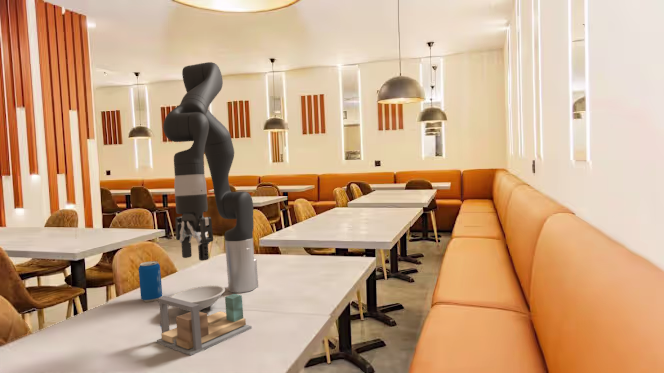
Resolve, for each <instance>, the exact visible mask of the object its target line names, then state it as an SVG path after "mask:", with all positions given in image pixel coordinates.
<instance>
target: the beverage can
mask: <svg viewBox="0 0 664 373" xmlns="http://www.w3.org/2000/svg"><path fill="white" fill-rule="evenodd" d="M161 272H162V271H161V265H160V264H159V261H157V260H152V261H151V260H149V261H145V262H141V263H139V267H138V278H139V279H138V280H139V289H140V290H139V291H140V292H139V293H140V300H142V301H143V302H144V303H145V302H146V303H148V302H150V303H151V302H155V301H158V298H161V297H163V287H162V274H161Z"/></svg>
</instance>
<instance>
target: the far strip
mask: <svg viewBox="0 0 664 373" xmlns="http://www.w3.org/2000/svg"><path fill="white" fill-rule="evenodd" d="M160 335H161V338H162V340H164V341H167V342H170V343H174V342H173V340H175V339H177V338H178V336H177V327H174V328H172V329H169V331H167V332H164V333H162V332H161V334H160Z"/></svg>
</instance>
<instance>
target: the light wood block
mask: <svg viewBox="0 0 664 373" xmlns="http://www.w3.org/2000/svg"><path fill="white" fill-rule="evenodd" d="M207 318H208V326H209V325H212V324H214V323H217V322H219V321H222V320H224V319H227V318H226V311H225V312H224V311H221V310H220V311H218V312H214V313H213V314H209V315H207Z"/></svg>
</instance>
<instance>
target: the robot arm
mask: <svg viewBox="0 0 664 373" xmlns="http://www.w3.org/2000/svg"><path fill="white" fill-rule="evenodd" d="M182 68H183V69H182V73H181V74H182V76H181V77H182V81H183V85H184V88H185V91H186V93H185V94H184V95H183V97H182V99H181V101H180V103H179V105H177V106H176V107H175V108H173V109H172V110H171V111H169V113H168V114H167V115H166V117H165V118H164V121H163V127H162V128H163V133H164V135H165V137H166V138H167V139H168V140H169V141H171V142H175V143H178V142H179V143H185V142H192V145H191V147H189V148H188V149H185V150H181V151H178V152H176V153H175V154H174V156H173V168H174V188H173V189H174V200H175V201H174V202H175V212H176V214H177V215H178V214H179V215H181V216H177V217H175V219H174V220H175V239H176V241H179V244H181V256H182V258H183V259H188V258H191V257H192V254H193V253H192V243H191V240H192V237H193V239H195V240H196V242H197V244H198V245H197V249H198V260H199V261H202V262H203V261H207V260H209V259H210V258H209V244H210V243H212V242H213V241H214V234H213V223H212V217H211V216H205V217H204V213H206V212H208V209H209V207H208V192H207V182H206V176H205V160H204V157H206V162H207V166H208V168H209V173H210V176H211V178H210V179H211V182H212V187H213V193H214V199H215V204H216V209H217V212H218V214H219V216H220V217H221V218H222V219H225V220H236V222H235V226H233V227H232V228H230V229H228V230H226V231H225V233H224V243H225V244H224V245H225V247H224V248H225V259H226V270H227V271H226V272H227V285H228V288H227V289H228V291H229V292H231V293H233V294H238V293H246V292H251V291H253V290H255V289H257V287H259V277H258V276H259V275H258V262H257V259H256V258H255V255H254V254H255V252H254V251H255V250H254V237H253V235H254V234H253V232H254V227H255V226H254V225H255V224H254V202H253V198H252V195H251V194H250V193H249V192H247V191H231V188H230V182H229V173H230V171H231V167H232V165H233V161H234V158H235V148H234V145H233V140H232V136H231V133H230V132H229V130H228V128H227V127H226V126H225V125H224V124H223V123H222V122H221V121H219V120H218V119H217V118H216V116H214V114H212V112H211V111H210V110H209V107H210V105H211V104H212V102H213V101H214V100H215V98H216V97H217V96H218V95H219V93H221V90H222V88H223V75H222V72H221V69H220V67H219V65H218V64H217V63H216V62H212V61H210V62H203V63H202V62H201V63H196V64H191V65H186V66H184V67H182Z"/></svg>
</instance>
